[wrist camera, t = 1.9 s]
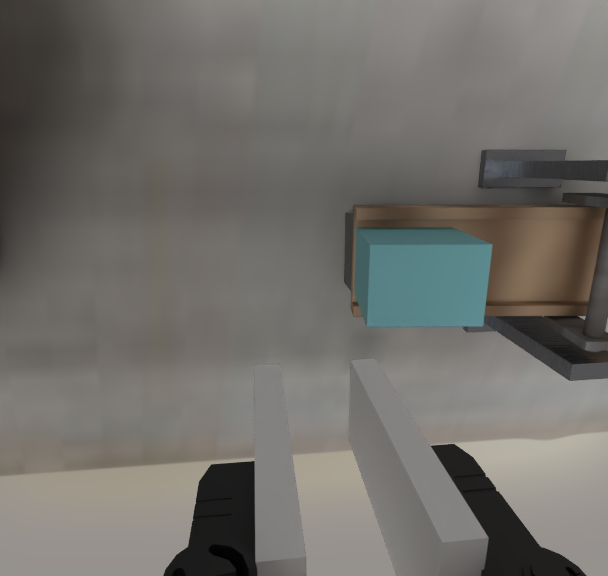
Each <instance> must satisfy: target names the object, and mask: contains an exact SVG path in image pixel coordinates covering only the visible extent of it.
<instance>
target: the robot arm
mask: <svg viewBox="0 0 608 576" xmlns="http://www.w3.org/2000/svg"><path fill="white" fill-rule="evenodd" d="M348 439H349V441H350V444H351V447H352V450H353V453H354V456H355V459H356V461H357V464H358V467H359V470H360V473H361V476H362V479H363V481H364V484H365V487H366V490H367V493H368V496H369V498H370V501H371V504H372V507H373V510H374V513H375V515H376V518H377V521H378V524H379V527H380V530H381V533H382V535H383V538H384V541H385V544H386V547H387V550H388V553H389V555H390V558H391V561H392V564H393V567H394V569H395V573H396V575H397V576H586V575H585V574H584V573H583V571H582V570H581V569H580V568H579V567H578V566H576V565H575V564H573V563H572V562H571V561H569V560H568V559H566V558H565V557H563V556H562V555H560V554H558V553H555V552H553V551H550V550H548V549H546V548H542V547H540V546H539V544H538V543H537V542H536V541H535V539H534V538H533V536H532V535H531V534H530V532H529V531H528V530H527V528H526V527H525V526H524V524H523V523H522V522H521V521H520V519H519V518H518V517H517V515H516V514H515V513H514V511H513V510H512V509H511V507H510V506H509V505H508V503H507V502H506V501H505V499H504V498H503V497H502V495H501V494H500V493H499V492H497V491H496V487H495V486H494V485H493V484H492V482H491V481H490V479H489V478H488V477H486V476H485V473H484V471H483V470H482V469H481V467H480V466H479V465H478V464H477V462H476V461H475V459H474V458H473V457H472V456H470V455H469V454H468V453H466V452H465V451H463V450H462V449H460V448H459V447H458V446H456V445H455V444H448V445H435V446H430V444H429V443H428V441H427V440H426V438H425V436H424V435H423V433H422V432H421V430H420V429H419V427H418V425H417V424H416V422H415V421H414V419H413V418H412V416H411V414H410V413H409V411H408V410H407V408H406V406H405V405H404V403H403V402H402V400H401V399H400V397H399V395H398V394H397V392H396V391H395V389H394V387H393V386H392V384H391V383H390V381H389V380H388V378H387V376H386V375H385V373H384V372H383V370H382V369H381V367H380V365H379V364H378V362H377V361H376V359H358V360H351V363H350V400H349V436H348ZM254 446H255V461H252V462H238V463H227V464H226V463H225V464H213V465H211V466H210V467H209V468H208V470H207V471H206V473H205V474H204V476H203V477H202V478H201V480H200V481H199V486H198V492H197V498H196V505H195V510H194V516H193V521H192V527H191V533H190V539H189V545H188V547H187V548H186V549H184V550H183V551H181V552H180V553H179V554H177V555H176V556H175V558H174V559H173V560H172V562H171V563H170V564H169V566H168V567H167V568H166V570H165V573H164V576H306V552H305V544H304V537H303V530H302V523H301V516H300V509H299V501H298V493H297V486H296V480H295V472H294V465H293V457H292V450H291V442H290V435H289V428H288V421H287V413H286V406H285V399H284V391H283V384H282V377H281V370H280V364H267V365H254Z"/></svg>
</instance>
